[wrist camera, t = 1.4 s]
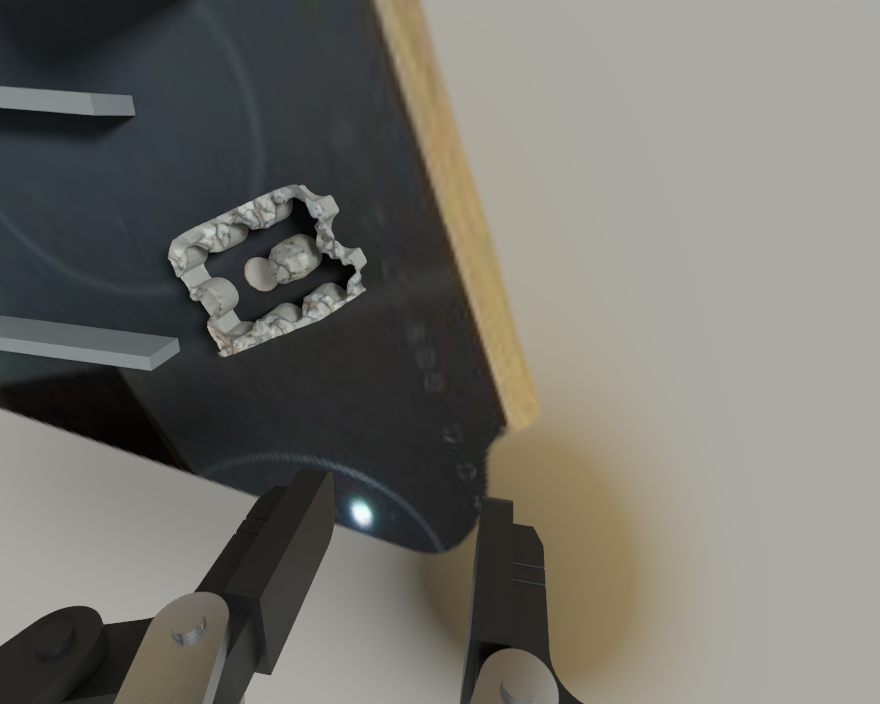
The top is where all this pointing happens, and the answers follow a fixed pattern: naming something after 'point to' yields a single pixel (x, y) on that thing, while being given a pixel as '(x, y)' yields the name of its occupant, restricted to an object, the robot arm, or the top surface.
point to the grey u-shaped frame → (67, 337)
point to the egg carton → (265, 267)
